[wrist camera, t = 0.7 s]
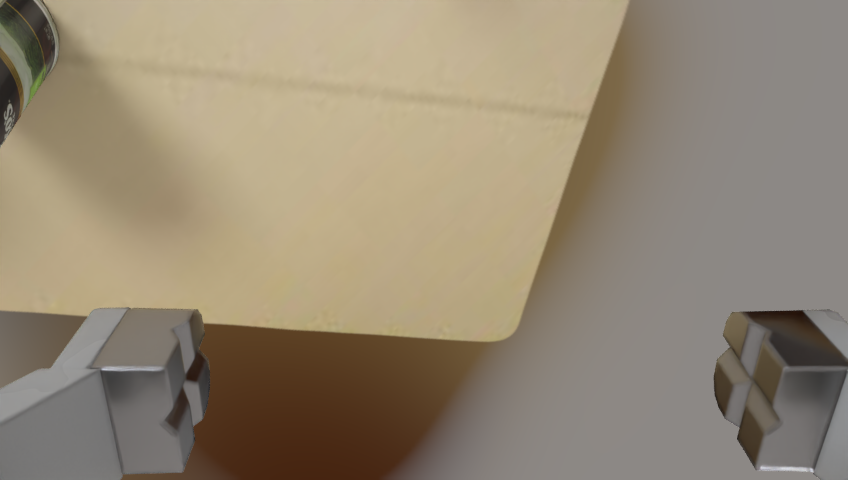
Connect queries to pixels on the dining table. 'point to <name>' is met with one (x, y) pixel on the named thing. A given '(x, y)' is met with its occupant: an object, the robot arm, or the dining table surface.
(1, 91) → the coffee can
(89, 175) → the dining table surface
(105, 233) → the dining table surface
